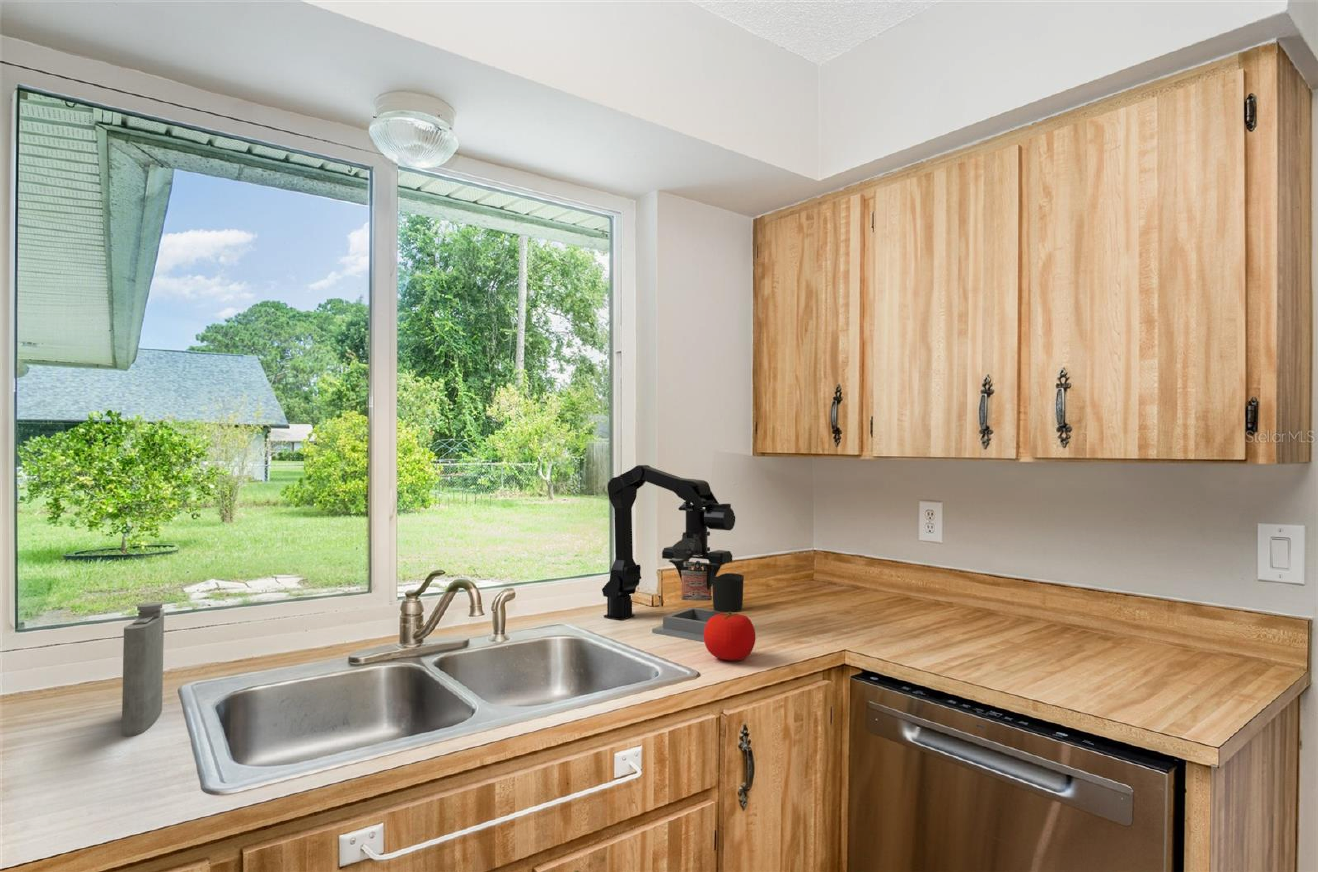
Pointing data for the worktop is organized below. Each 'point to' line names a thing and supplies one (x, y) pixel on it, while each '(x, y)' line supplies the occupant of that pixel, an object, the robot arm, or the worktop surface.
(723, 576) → the pen holder
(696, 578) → the lighter
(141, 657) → the hip flask
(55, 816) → the worktop surface
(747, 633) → the tomato
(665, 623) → the stand
